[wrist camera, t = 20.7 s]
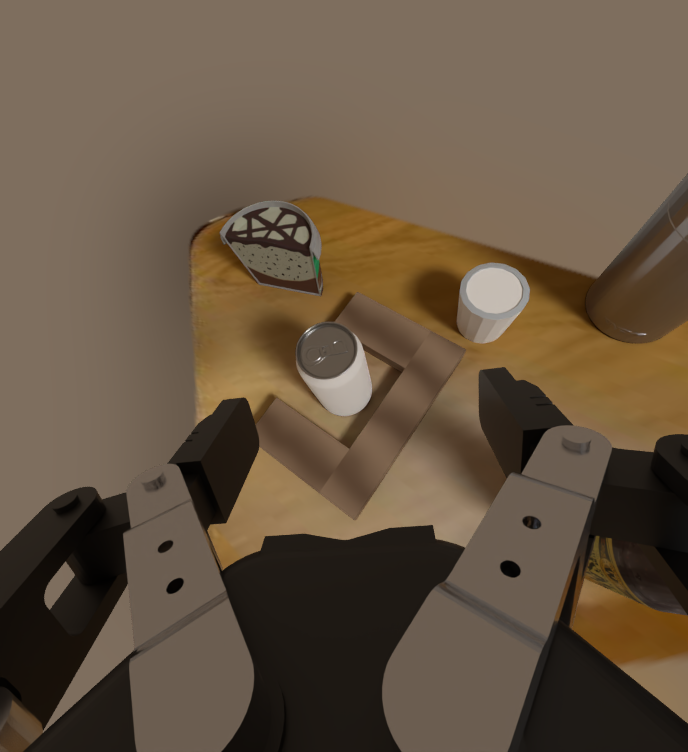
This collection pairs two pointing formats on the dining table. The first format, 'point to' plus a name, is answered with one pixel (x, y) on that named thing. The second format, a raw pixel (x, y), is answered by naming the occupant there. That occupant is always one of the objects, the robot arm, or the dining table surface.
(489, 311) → the white short cylinder
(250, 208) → the food container
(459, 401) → the dining table surface
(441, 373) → the notched board
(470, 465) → the dining table surface
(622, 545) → the sauce bottle
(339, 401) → the can
